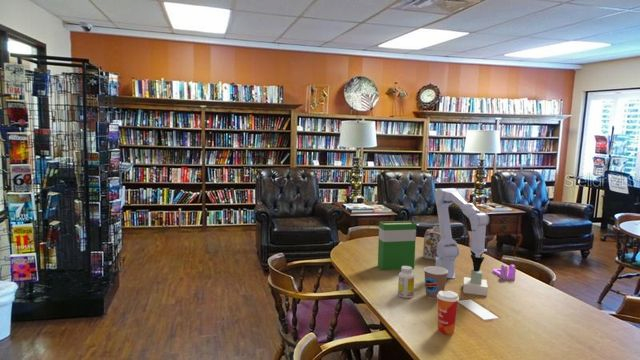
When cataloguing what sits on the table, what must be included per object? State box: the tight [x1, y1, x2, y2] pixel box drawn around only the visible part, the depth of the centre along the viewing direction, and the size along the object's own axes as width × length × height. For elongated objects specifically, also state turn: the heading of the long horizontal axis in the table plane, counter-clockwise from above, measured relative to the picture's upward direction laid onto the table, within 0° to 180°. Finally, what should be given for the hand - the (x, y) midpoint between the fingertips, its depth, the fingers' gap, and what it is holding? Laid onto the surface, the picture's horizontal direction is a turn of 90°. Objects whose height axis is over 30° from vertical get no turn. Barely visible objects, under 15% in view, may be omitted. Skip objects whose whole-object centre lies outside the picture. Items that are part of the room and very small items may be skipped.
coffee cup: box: [423, 265, 448, 300], centre depth 182 cm, size 10×10×12 cm
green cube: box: [470, 268, 483, 284], centre depth 190 cm, size 4×4×5 cm
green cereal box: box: [377, 220, 417, 271], centre depth 221 cm, size 18×7×24 cm, turn 102°
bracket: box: [492, 264, 516, 280], centre depth 212 cm, size 13×6×7 cm, turn 7°
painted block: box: [462, 276, 489, 297], centre depth 191 cm, size 10×10×4 cm
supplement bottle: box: [397, 266, 415, 299], centre depth 182 cm, size 7×7×13 cm
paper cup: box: [437, 290, 460, 336], centre depth 150 cm, size 8×8×14 cm
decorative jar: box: [422, 225, 449, 261], centre depth 239 cm, size 12×12×18 cm
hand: (476, 268), depth 190 cm, fingers open, 7 cm apart
